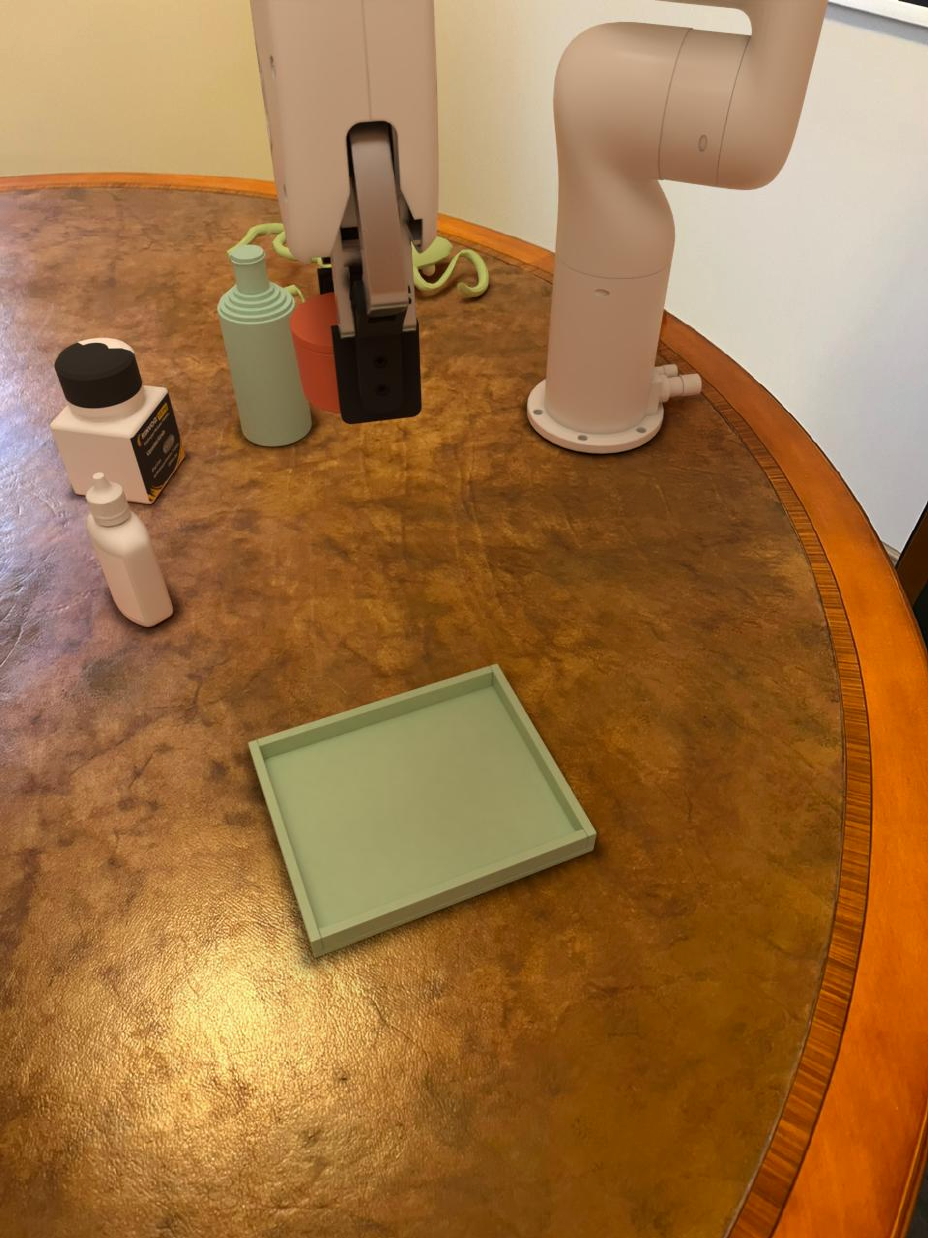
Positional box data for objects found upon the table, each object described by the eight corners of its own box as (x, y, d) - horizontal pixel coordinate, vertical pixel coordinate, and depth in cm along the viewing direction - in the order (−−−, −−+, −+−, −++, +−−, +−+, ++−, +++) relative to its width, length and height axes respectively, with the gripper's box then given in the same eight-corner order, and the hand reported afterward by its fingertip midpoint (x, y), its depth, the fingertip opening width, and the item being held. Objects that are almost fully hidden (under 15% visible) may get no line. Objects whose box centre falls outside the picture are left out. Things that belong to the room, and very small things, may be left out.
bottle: (307, 403, 88) (283, 230, 76) (315, 441, 84) (291, 265, 72) (239, 411, 87) (204, 237, 75) (244, 450, 83) (207, 273, 71)
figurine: (223, 273, 107) (214, 225, 103) (436, 231, 115) (435, 184, 111) (271, 349, 95) (262, 298, 91) (503, 296, 103) (505, 246, 99)
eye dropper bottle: (113, 636, 67) (61, 507, 59) (113, 584, 71) (65, 455, 62) (175, 625, 68) (133, 496, 59) (172, 574, 72) (132, 446, 63)
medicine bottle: (152, 506, 78) (113, 380, 69) (74, 495, 79) (25, 369, 70) (187, 456, 82) (154, 332, 74) (112, 446, 83) (71, 323, 75)
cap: (283, 399, 38) (268, 330, 36) (334, 349, 40) (323, 281, 38) (366, 423, 37) (356, 354, 34) (415, 371, 39) (409, 302, 37)
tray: (496, 681, 64) (497, 662, 63) (593, 850, 55) (597, 833, 54) (252, 760, 60) (247, 742, 58) (314, 958, 51) (310, 942, 49)
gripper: (185, -223, 31) (267, 300, 44) (193, -155, 19) (301, 524, 32) (409, -226, 32) (424, 285, 45) (541, -164, 20) (509, 496, 34)
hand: (372, 381), depth 39 cm, fingers closed on cap, 4 cm apart
